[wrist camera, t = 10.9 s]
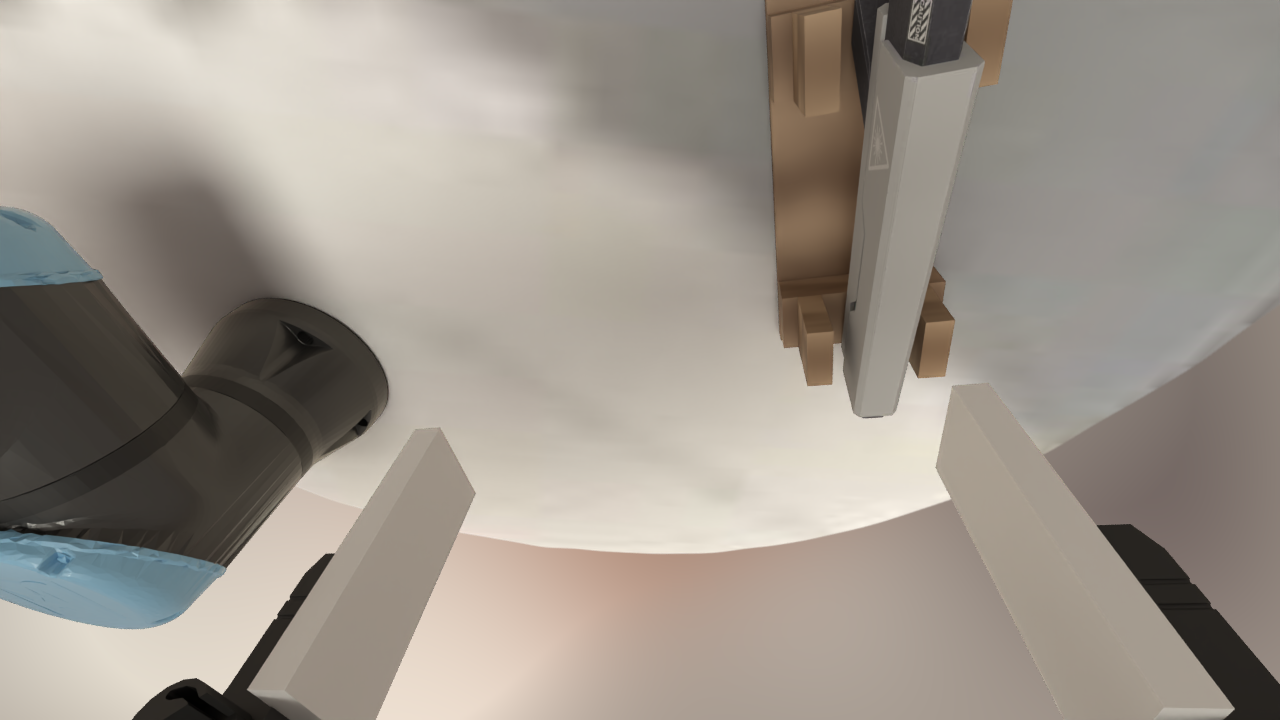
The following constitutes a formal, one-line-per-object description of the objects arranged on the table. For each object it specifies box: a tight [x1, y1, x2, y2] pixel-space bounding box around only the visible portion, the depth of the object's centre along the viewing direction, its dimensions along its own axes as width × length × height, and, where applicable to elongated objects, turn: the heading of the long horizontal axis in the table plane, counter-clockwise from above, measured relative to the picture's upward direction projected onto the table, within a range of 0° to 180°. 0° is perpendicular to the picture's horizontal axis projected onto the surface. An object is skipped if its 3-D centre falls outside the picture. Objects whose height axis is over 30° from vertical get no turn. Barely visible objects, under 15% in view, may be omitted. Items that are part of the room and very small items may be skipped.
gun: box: [841, 0, 985, 418], centre depth 27 cm, size 2×25×10 cm, turn 11°
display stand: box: [765, 0, 1013, 386], centre depth 30 cm, size 22×10×8 cm, turn 11°
